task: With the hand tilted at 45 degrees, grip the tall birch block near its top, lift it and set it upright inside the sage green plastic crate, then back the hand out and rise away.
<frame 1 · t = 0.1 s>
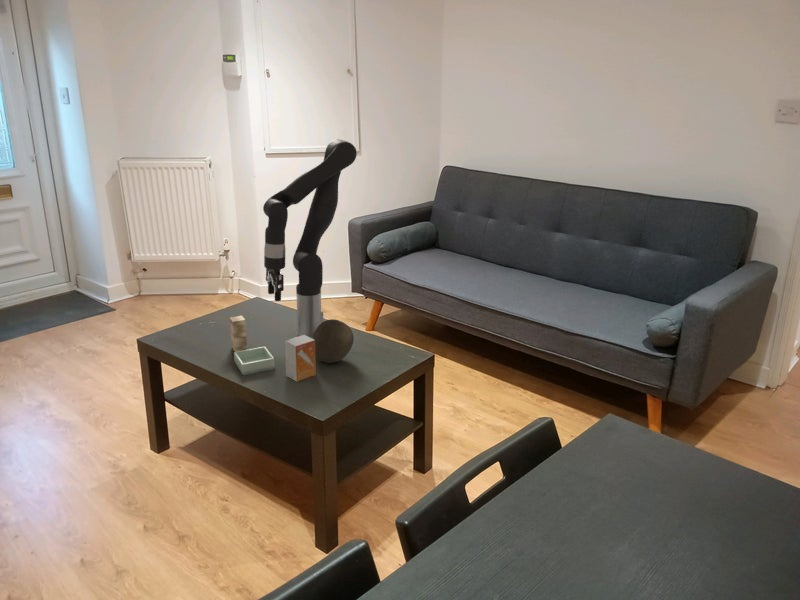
hand: (274, 297, 247), 17 cm above the table, tool pointing down, fingers open, 8 cm apart
small box: (301, 376, 226), on the table
birch block: (239, 349, 245), on the table
brown leather ball: (333, 361, 237), on the table
crate: (254, 365, 232), on the table
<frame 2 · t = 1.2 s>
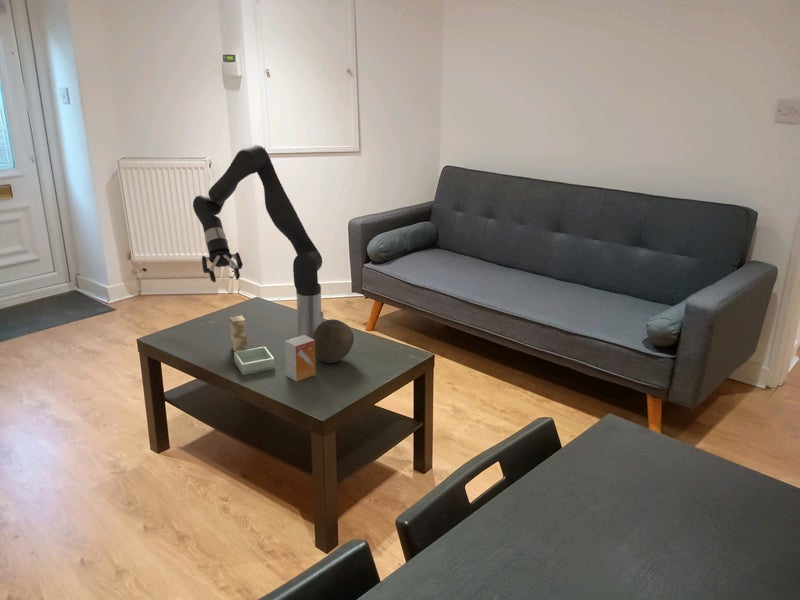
hand: (226, 280, 247), 23 cm above the table, tool tilted 45°, fingers open, 8 cm apart
nothing on the table moved.
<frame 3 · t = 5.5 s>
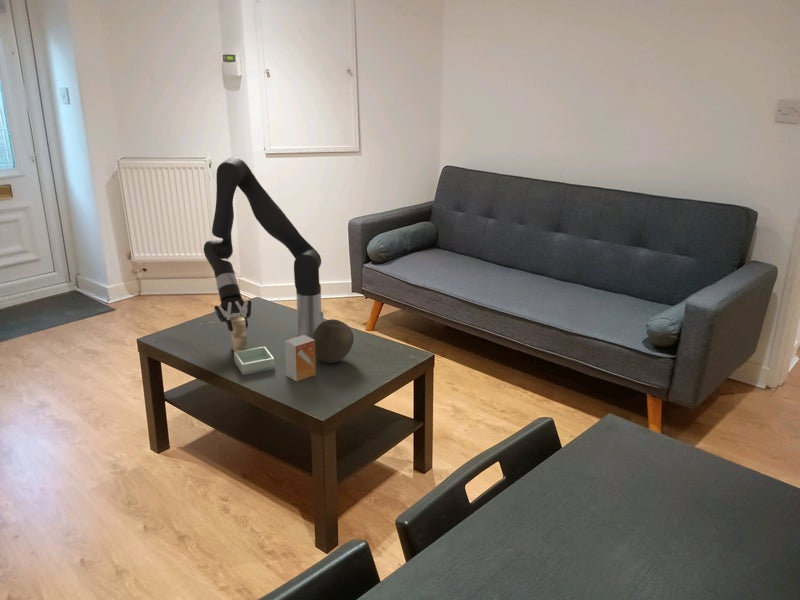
hand: (238, 329, 241), 8 cm above the table, tool tilted 45°, fingers closed on birch block, 4 cm apart
birch block: (239, 348, 245), on the table, touching gripper
everything else where it was.
when the fingers open (10 cm above the table, at t = 12.2 s): birch block stays where it is, resting on crate.
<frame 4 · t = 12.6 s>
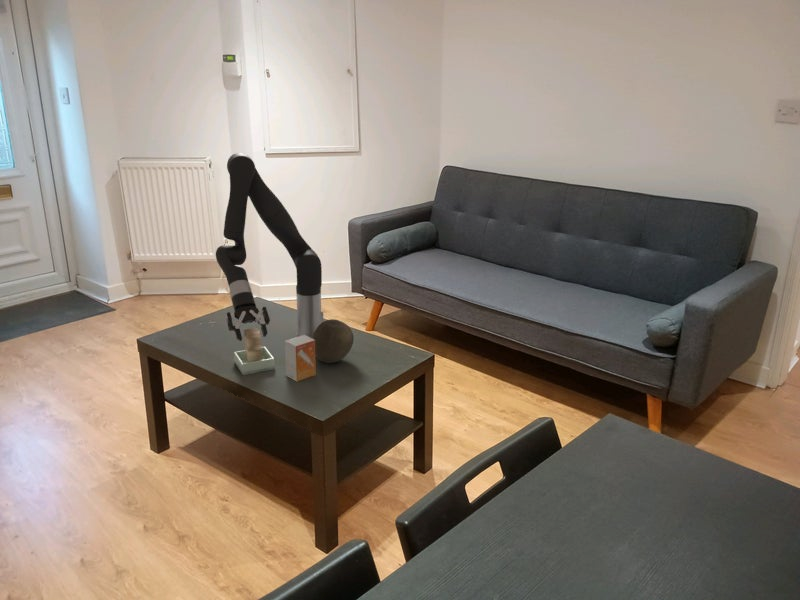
hand: (253, 338, 228), 11 cm above the table, tool tilted 45°, fingers open, 8 cm apart
birch block: (254, 362, 232), point 1 cm above the table, touching crate
everything else where it was.
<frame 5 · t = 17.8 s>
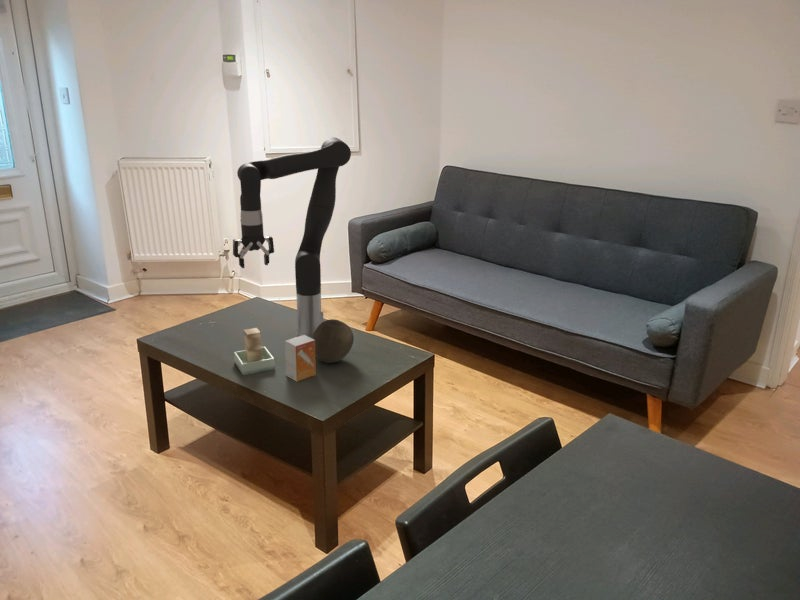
hand: (254, 266, 240), 30 cm above the table, tool pointing down, fingers open, 8 cm apart
nothing on the table moved.
at the end: birch block 0.2 cm off-centre on the crate, point 1.0 cm above the crate's base; birch block tilted 0°; the gripper is holding nothing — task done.
